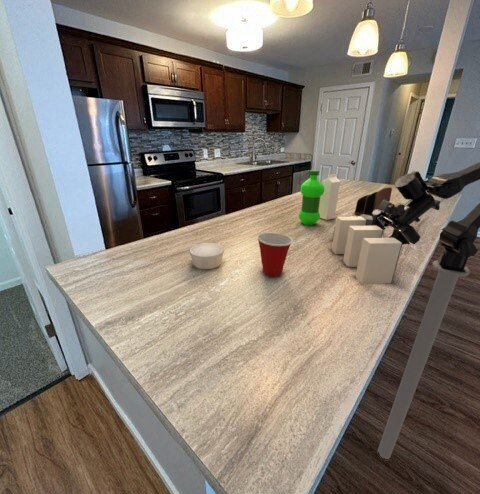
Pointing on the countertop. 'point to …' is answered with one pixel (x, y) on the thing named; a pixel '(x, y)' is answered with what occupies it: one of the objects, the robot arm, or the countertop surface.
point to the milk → (329, 197)
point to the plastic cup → (273, 252)
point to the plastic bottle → (311, 199)
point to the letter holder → (372, 201)
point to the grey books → (367, 217)
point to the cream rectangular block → (358, 242)
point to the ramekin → (207, 255)
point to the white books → (369, 252)
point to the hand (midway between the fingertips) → (371, 242)
